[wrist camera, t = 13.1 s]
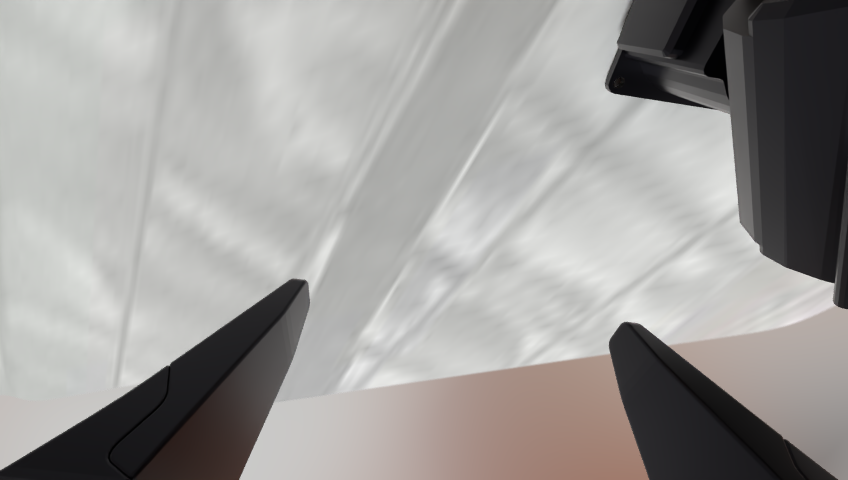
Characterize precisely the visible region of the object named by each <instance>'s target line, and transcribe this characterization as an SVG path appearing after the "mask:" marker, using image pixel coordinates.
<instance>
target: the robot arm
mask: <svg viewBox="0 0 848 480" xmlns="http://www.w3.org/2000/svg"><path fill="white" fill-rule="evenodd" d="M617 44H618V47H619V49H618V52H617V54H616V57H615V59H614V62H613V64H612V66H611V69H610V71H609V74H608V76H607V79H606V82H605V87H606V89H607V90H608V91H609V92H612V93H614V94H620V95H626V96H632V97H639V98H645V99H652V100H658V101H664V102H671V103H677V104H684V105H690V106H696V107H703V108H709V109H715V110H720V111H722V112H725V113H728V114H731V125H732V137H733V148H734V160H735V171H736V183H737V194H738V206H739V217H740V223H741V224H742V226H743V227H744V228H745V230H746V231H747V232H748V233H749V235H750V236H751V237H752V239H753V240H754V241H755V242H756V243H758V244H759V245H760V252H761V253H762V254H763V255H765V256H766V257H768V258H770V259H772V260H773V261H775V262H777V263H779V264H781V265H782V266H784V267H786V268H789V269H792V270H795V271H797V272H800V273H803V274H806V275H809V276H812V277H814V278H817V279H820V280H824V281H827V282H831V283H835V286H834V295H833V302H834V304H835V305H837V306H838V307H841V308H844V309H848V0H634V1H633V4H632V6H631V9H630V11H629V14H628V16H627V19H626V21H625V24H624V26H623V29H622V31H621V34H620V36H619V39H618V41H617ZM619 77H621V83H620V84H619V85H618V86H616V87H614V81H615V80H616V79H617V78H619ZM309 305H310V298H309V287H308V282H307V281H306V280H301V279H291V280H289V281H288V282H286V283H285V284H283V285H282V286H280V287H279V288H278V289H276V290H275V291H273V292H272V293H270V294H269V295H268V296H266V297H265V298H263V299H262V300H260V301H259V302H257V303H256V304H255V305H253V306H252V307H250V308H249V309H247V310H246V311H245V312H243V313H242V314H240V315H239V316H237V317H236V318H235V319H233V320H232V321H230V322H229V323H227V324H226V325H225V326H223V327H222V328H220V329H219V330H217V331H216V332H215V333H213V334H212V335H210V336H209V337H207V338H206V339H205V340H203V341H202V342H200V343H199V344H197V345H196V346H195V347H193V348H192V349H190V350H189V351H187V352H186V353H185V354H183V355H182V356H180V357H179V358H177V359H176V360H175V361H173V362H172V363H171V364H170V366H166V367H164V368H163V369H161V370H160V371H159V372H157V373H156V374H154V375H153V376H151V377H150V378H149V379H147V380H146V381H144V382H143V383H141V384H140V385H138V386H137V387H135V388H134V389H132V390H131V391H129V392H128V393H126V394H125V395H123V396H122V397H120V398H118V399H117V400H115V401H114V402H112V403H110V404H109V405H107V406H106V407H104V408H102V409H101V410H99V411H98V412H96V413H94V414H93V415H91V416H90V417H88V418H87V419H85V420H83V421H81V422H80V423H78V424H76V425H75V426H73V427H72V428H70V429H68V430H67V431H65V432H63V433H62V434H60V435H58V436H57V437H55V438H53V439H52V440H50V441H48V442H47V443H45V444H43V445H42V446H40V447H39V448H37V449H35V450H34V451H32V452H30V453H29V454H27V455H25V456H24V457H22V458H20V459H19V460H17V461H15V462H14V463H12V464H11V465H9V466H7V467H5V468H4V469H2V470H0V480H239V478H240V476H241V474H242V472H243V469H244V467H245V465H246V463H247V460H248V458H249V456H250V454H251V451H252V449H253V447H254V445H255V442H256V441H257V438H258V436H259V434H260V432H261V429H262V427H263V425H264V423H265V420H266V418H267V416H268V414H269V411H270V409H271V407H272V405H273V403H274V400H275V398H276V396H277V394H278V392H279V389H280V387H281V385H282V383H283V380H284V378H285V376H286V374H287V371H288V369H289V367H290V365H291V362H292V360H293V357H294V354H295V351H296V348H297V345H298V342H299V338H300V335H301V332H302V329H303V326H304V323H305V319H306V316H307V313H308V310H309ZM609 349H610V354H611V358H612V362H613V366H614V370H615V374H616V379H617V383H618V387H619V391H620V395H621V399H622V402H623V405H624V408H625V411H626V414H627V417H628V420H629V423H630V425H631V428H632V431H633V434H634V437H635V440H636V443H637V446H638V448H639V451H640V454H641V457H642V460H643V463H644V466H645V469H646V471H647V474H648V477H649V480H838V479H836V478H835V477H834V476H832V475H831V474H830V473H829V472H827V471H826V470H825V469H823V468H822V467H821V466H820V465H818V464H817V463H815V462H814V461H813V460H812V459H810V458H809V457H808V456H806V455H805V454H804V453H803V452H802V451H800V450H799V449H798V448H796V447H795V446H794V445H793V444H791V443H790V442H789V441H788V440H786V439H783V437H782V436H781V435H780V434H779V433H777V432H776V431H775V430H774V429H772V428H771V427H770V426H768V425H767V424H766V423H765V422H763V421H762V420H761V419H759V418H758V417H757V416H755V414H753V413H752V412H750V411H749V410H748V409H747V408H746V407H744V406H743V405H742V404H741V403H739V402H738V401H737V400H736V399H734V398H733V397H732V396H730V395H729V394H728V393H727V392H725V391H724V390H723V389H722V388H720V387H719V386H718V385H716V384H715V383H714V382H713V381H711V380H710V379H709V378H708V377H706V376H705V375H704V374H702V373H701V372H700V371H699V370H698V369H696V368H695V367H694V366H692V365H691V364H690V363H689V362H687V361H686V360H685V359H683V358H682V357H681V356H680V355H679V354H677V353H676V352H675V351H673V350H672V349H671V348H670V347H668V346H667V345H666V344H665V343H663V342H662V341H661V340H660V339H658V338H657V337H656V336H654V335H653V334H652V333H651V332H649V331H648V330H647V329H646V328H644V327H643V326H642V325H640V324H638V323H631V322H623V323H622V324H621V325H620V326H619V327H618V329H617V330H616V332H615V333H614V334H613V336H612V337H611V339H610V341H609Z"/></svg>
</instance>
